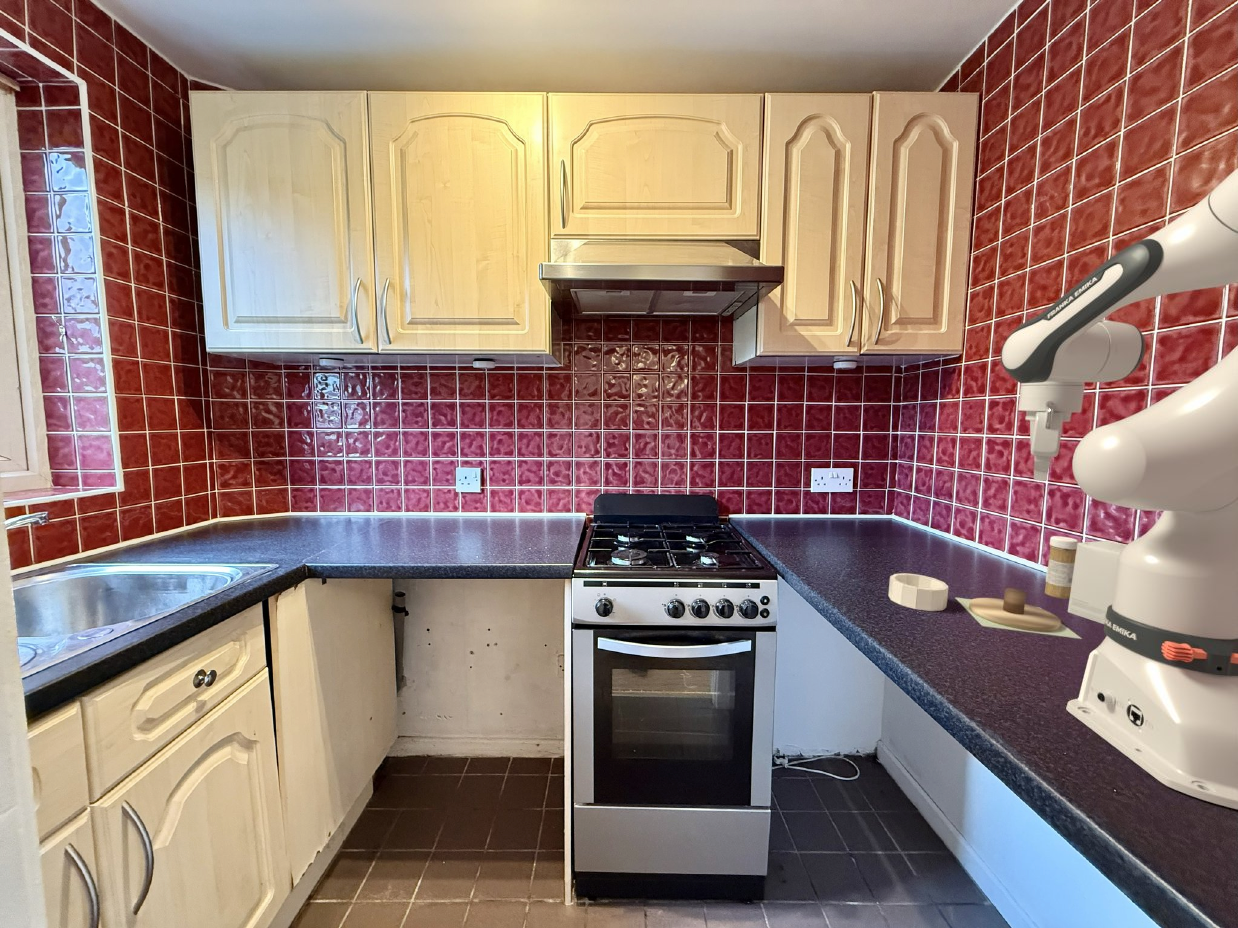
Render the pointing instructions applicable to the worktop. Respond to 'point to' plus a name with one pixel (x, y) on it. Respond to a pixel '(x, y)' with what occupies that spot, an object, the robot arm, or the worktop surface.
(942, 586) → the bowl
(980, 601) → the lid
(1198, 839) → the worktop surface
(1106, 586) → the supplement box
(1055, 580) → the sprinkles bottle
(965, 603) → the mat
